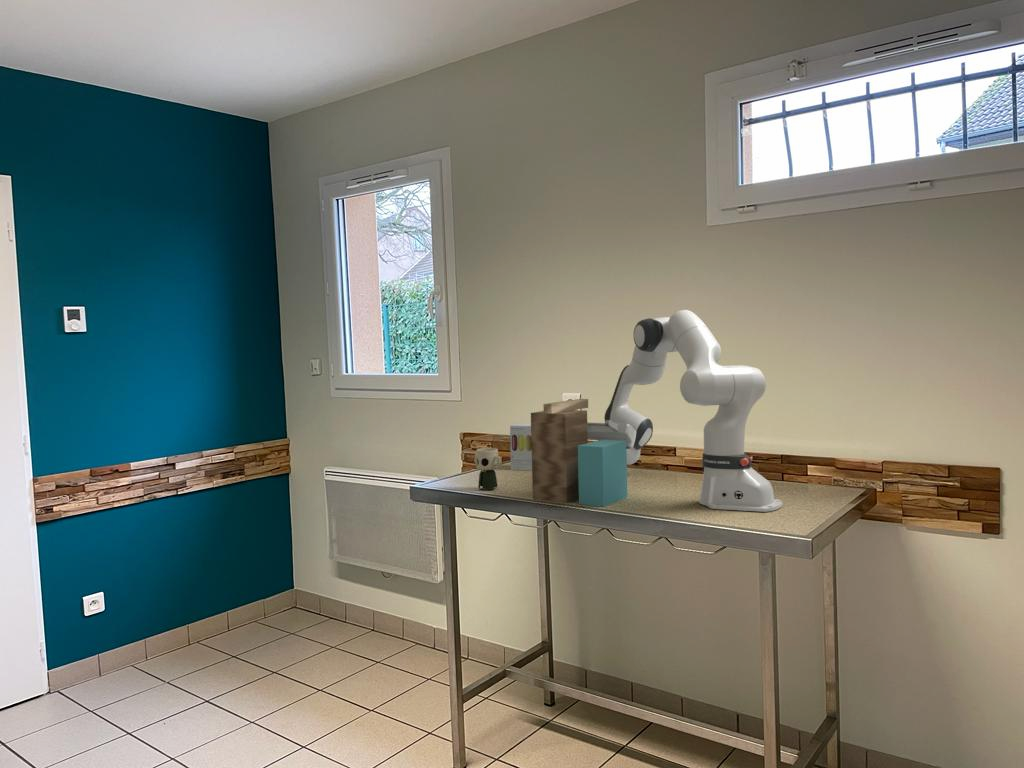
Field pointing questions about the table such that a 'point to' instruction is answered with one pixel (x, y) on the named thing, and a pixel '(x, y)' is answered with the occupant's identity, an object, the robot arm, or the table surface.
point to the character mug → (487, 467)
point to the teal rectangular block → (602, 472)
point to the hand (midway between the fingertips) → (594, 421)
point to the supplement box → (520, 446)
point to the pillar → (557, 454)
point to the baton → (565, 406)
